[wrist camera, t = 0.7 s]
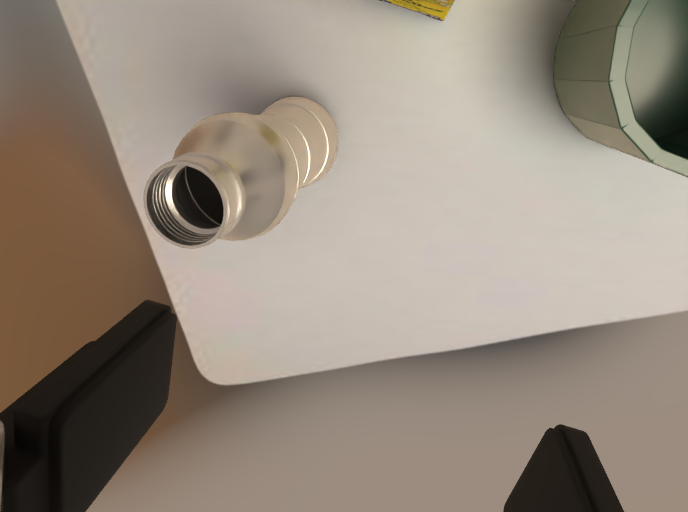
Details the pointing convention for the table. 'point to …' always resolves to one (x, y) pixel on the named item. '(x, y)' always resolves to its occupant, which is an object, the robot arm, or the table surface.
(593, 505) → the robot arm
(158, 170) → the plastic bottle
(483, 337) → the table surface
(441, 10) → the supplement box
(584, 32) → the canister
